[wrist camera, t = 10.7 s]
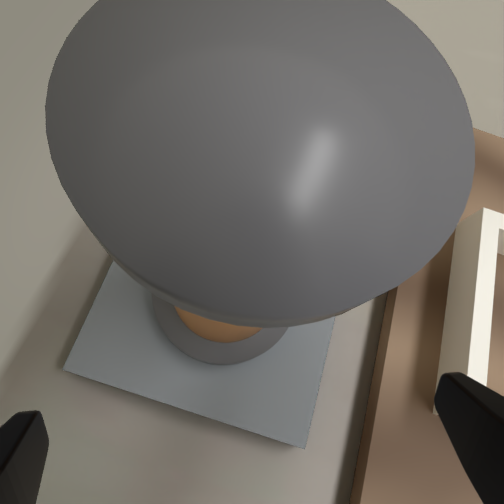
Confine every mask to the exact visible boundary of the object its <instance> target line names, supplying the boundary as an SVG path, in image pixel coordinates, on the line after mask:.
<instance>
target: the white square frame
mask: <svg viewBox="0 0 504 504" xmlns="http://www.w3.org/2000/svg"><path fill="white" fill-rule="evenodd" d="M497 253H499V254H502V255H504V214H502V213H499V212H496V211H493V210H490V209H487V208H484V207H483V208H482V209H480V210H479V211H477V212H475V213H474V214H472V215H471V216H469V217H467V218H466V219H464V220H463V221H461V222H459V223H458V224H457V226H456V230H455V238H454V246H453V254H452V262H451V270H450V278H449V286H448V295H447V303H446V311H445V319H444V327H443V335H442V343H441V351H440V359H439V367H438V375H437V383H436V389H437V386H438V383H439V380H440V377H441V375H442V374H444V373H449V372H461V373H463V374H465V375H467V376H469V377H470V378H472V379H474V380H476V381H477V382H479V383H481V384H483V385H485V386H487V374H488V361H489V348H490V336H491V323H492V310H493V298H494V285H495V272H496V260H497ZM435 393H436V391H435ZM433 414H436V415H438V413H437V411H436V409H435V405H434V407H433Z"/></svg>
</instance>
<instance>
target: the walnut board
mask: <svg viewBox="0 0 504 504" xmlns="http://www.w3.org/2000/svg"><path fill="white" fill-rule="evenodd" d="M473 133H474V140H475V169H474V175H473V182H472V188H471V191H470V195H469V198H468V201H467V204H466V207H465V210H464V212H463V214H462V216H461V218H460V220H459V222H461V221H463V220H464V219H466V218H467V217H469V216H471V215H472V214H474V213H475V212H477V211H479V210H480V209H482V208H483V207H484V208H487V209H490V210H493V211H496V212H499V213H502V214H504V138H501V137H498V136H495V135H492V134H489V133H487V132H484V131H481V130H478V129H475V128H473ZM459 222H458V223H459ZM455 230H456V228H455ZM455 230H454V232H453V233H452V235H451V236H450V237H449V239H448V240H447V241H446V243H445V244H444V245H443V247H442V248H441V250H440V251H439V252H438V253H437V254H436V255H435V256H434V257H433V258H432V259H431V260H430V261H429V262H428V263H427V264H426V265H425V266H424V267H423V268H422V269H421V270H420V271H418V272H417V273H415V274H414V275H413V276H411V277H410V278H408V279H407V280H406V281H404V282H403V283H401V284H400V285H399V286H397V287H395V288H393V289H391V290H389V291H388V295H387V301H386V306H385V311H384V317H383V322H382V328H381V333H380V339H379V344H378V350H377V355H376V361H375V366H374V372H373V377H372V382H371V388H370V393H369V399H368V404H367V410H366V415H365V421H364V426H363V432H362V437H361V443H360V448H359V453H358V459H357V464H356V470H355V475H354V481H353V486H352V492H351V497H350V503H349V504H483V502H482V501H481V499H480V497H479V495H478V494H477V492H476V490H475V489H474V487H473V485H472V483H471V482H470V480H469V478H468V476H467V474H466V472H465V470H464V468H463V466H462V464H461V462H460V460H459V458H458V456H457V454H456V452H455V450H454V448H453V445H452V443H451V441H450V439H449V437H448V435H447V432H446V430H445V428H444V426H443V424H442V422H441V420H440V417H439V415H436V414H433V407H434V396H435V391H436V383H437V375H438V367H439V359H440V351H441V343H442V335H443V327H444V319H445V311H446V303H447V295H448V286H449V278H450V270H451V262H452V254H453V246H454V238H455ZM486 387H488V388H490V389H492V390H493V391H495V392H497V393H499V394H500V395H502V396H504V255H502V254H499V253H497V260H496V272H495V285H494V298H493V310H492V323H491V336H490V348H489V361H488V374H487V386H486Z"/></svg>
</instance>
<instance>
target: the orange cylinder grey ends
mask: <svg viewBox="0 0 504 504" xmlns="http://www.w3.org/2000/svg"><path fill="white" fill-rule="evenodd" d="M45 111H46V133H47V139H48V144H49V148H50V154H51V158H52V161H53V164H54V166H55V169H56V172H57V174H58V177H59V179H60V182H61V185H62V187H63V188H64V190H65V192H66V193H67V195H68V197H69V199H70V200H71V202H72V204H73V206H74V207H75V209H76V211H77V212H78V214H79V215H80V217H81V218H82V219H83V221H84V222H85V224H86V225H87V226H88V228H89V229H90V230H91V232H92V233H93V235H94V236H95V237H96V239H97V240H98V241H99V243H100V244H101V245H102V246H103V248H104V249H105V250H106V252H107V253H108V254H109V255H110V257H111V258H112V259H113V260H114V262H115V263H117V264H118V265H119V266H120V267H121V268H122V269H123V270H124V271H125V272H126V273H127V274H128V275H129V276H130V277H131V278H132V279H133V280H135V281H136V282H137V283H139V284H140V285H142V286H143V287H144V288H146V289H147V290H149V291H150V292H151V293H152V303H153V308H154V312H155V315H156V318H157V320H158V322H159V324H160V326H161V328H162V330H163V331H164V333H165V334H166V335H167V337H168V338H169V339H170V341H171V342H172V343H173V344H174V345H175V346H176V347H177V348H178V349H180V350H181V351H182V352H184V353H185V354H186V355H188V356H190V357H192V358H194V359H196V360H199V361H202V362H205V363H209V364H214V365H233V364H238V363H243V362H246V361H249V360H251V359H253V358H255V357H257V356H259V355H261V354H263V353H265V352H266V351H267V350H269V349H270V348H272V347H273V346H274V345H275V344H276V343H277V342H278V341H279V340H280V339H281V338H282V336H283V335H284V334H285V332H286V331H287V329H288V327H293V326H299V325H304V324H309V323H315V322H319V321H322V320H325V319H328V318H331V317H334V316H337V315H340V314H343V313H345V312H347V311H349V310H351V309H353V308H355V307H357V306H359V305H361V304H363V303H365V302H367V301H369V300H371V299H373V298H375V297H377V296H379V295H381V294H383V293H385V292H387V291H389V290H391V289H393V288H395V287H397V286H399V285H400V284H401V283H403V282H404V281H406V280H407V279H408V278H410V277H411V276H413V275H414V274H415V273H417V272H418V271H420V270H421V269H422V268H423V267H424V266H425V265H426V264H427V263H428V262H429V261H430V260H431V259H432V258H433V257H434V256H435V255H436V254H437V253H438V252H439V251H440V250H441V248H442V247H443V245H444V244H445V243H446V241H447V240H448V239H449V237H450V236H451V235H452V233H453V232H454V230H455V228H456V226H457V224H458V222H459V220H460V218H461V216H462V214H463V212H464V210H465V207H466V204H467V201H468V198H469V195H470V191H471V188H472V182H473V175H474V169H475V140H474V133H473V127H472V120H471V117H470V114H469V110H468V107H467V103H466V100H465V97H464V95H463V93H462V91H461V88H460V86H459V84H458V81H457V79H456V77H455V76H454V74H453V72H452V71H451V69H450V67H449V65H448V64H447V62H446V60H445V59H444V57H443V56H442V55H441V53H440V52H439V51H438V49H437V48H436V47H435V46H434V44H433V43H432V42H431V40H430V39H429V38H428V37H427V36H426V35H425V34H424V33H423V32H422V31H421V30H420V29H419V28H418V26H417V25H416V24H415V23H413V22H412V21H411V20H410V19H409V18H408V17H407V16H405V15H404V14H403V13H402V12H401V11H400V10H399V9H397V8H396V7H395V6H393V5H392V4H390V3H389V2H388V1H386V0H99V1H97V2H96V3H95V4H94V5H93V6H92V7H91V8H90V9H89V11H87V12H86V13H85V15H84V16H83V17H82V18H81V19H80V20H79V21H78V23H77V24H76V25H75V27H74V28H73V30H72V31H71V32H70V34H69V35H68V37H67V38H66V40H65V42H64V44H63V46H62V48H61V50H60V52H59V54H58V56H57V58H56V60H55V64H54V67H53V70H52V73H51V76H50V80H49V84H48V91H47V98H46V105H45Z"/></svg>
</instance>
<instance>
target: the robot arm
mask: <svg viewBox="0 0 504 504" xmlns="http://www.w3.org/2000/svg"><path fill="white" fill-rule="evenodd" d="M434 405H435V409H436V411H437V413H438V415H439V417H440V420H441V422H442V424H443V426H444V428H445V430H446V432H447V435H448V437H449V439H450V441H451V443H452V445H453V448H454V450H455V452H456V454H457V456H458V458H459V460H460V462H461V464H462V466H463V468H464V470H465V472H466V474H467V476H468V478H469V480H470V482H471V483H472V485H473V487H474V489H475V490H476V492H477V494H478V495H479V497H480V499H481V501H482V502H483V504H504V396H502V395H500V394H499V393H497V392H495V391H493V390H492V389H490V388H488V387H486V386H485V385H483V384H481V383H479V382H477V381H476V380H474V379H472V378H470V377H469V376H467V375H465V374H463V373H461V372H449V373H444V374H442V375H441V377H440V380H439V383H438V386H437V389H436V393H435V396H434ZM48 446H49V438H48V434H47V431H46V427H45V424H44V420H43V417H42V414H41V412H40V411H37V410H34V411H23V412H18V413H16V414H15V415H14V416H12V417H11V418H10V419H9V420H8V421H7V422H6V423H5V424H4V425H2V426H1V427H0V504H36V500H37V496H38V491H39V487H40V483H41V478H42V474H43V470H44V465H45V461H46V456H47V452H48Z"/></svg>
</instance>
